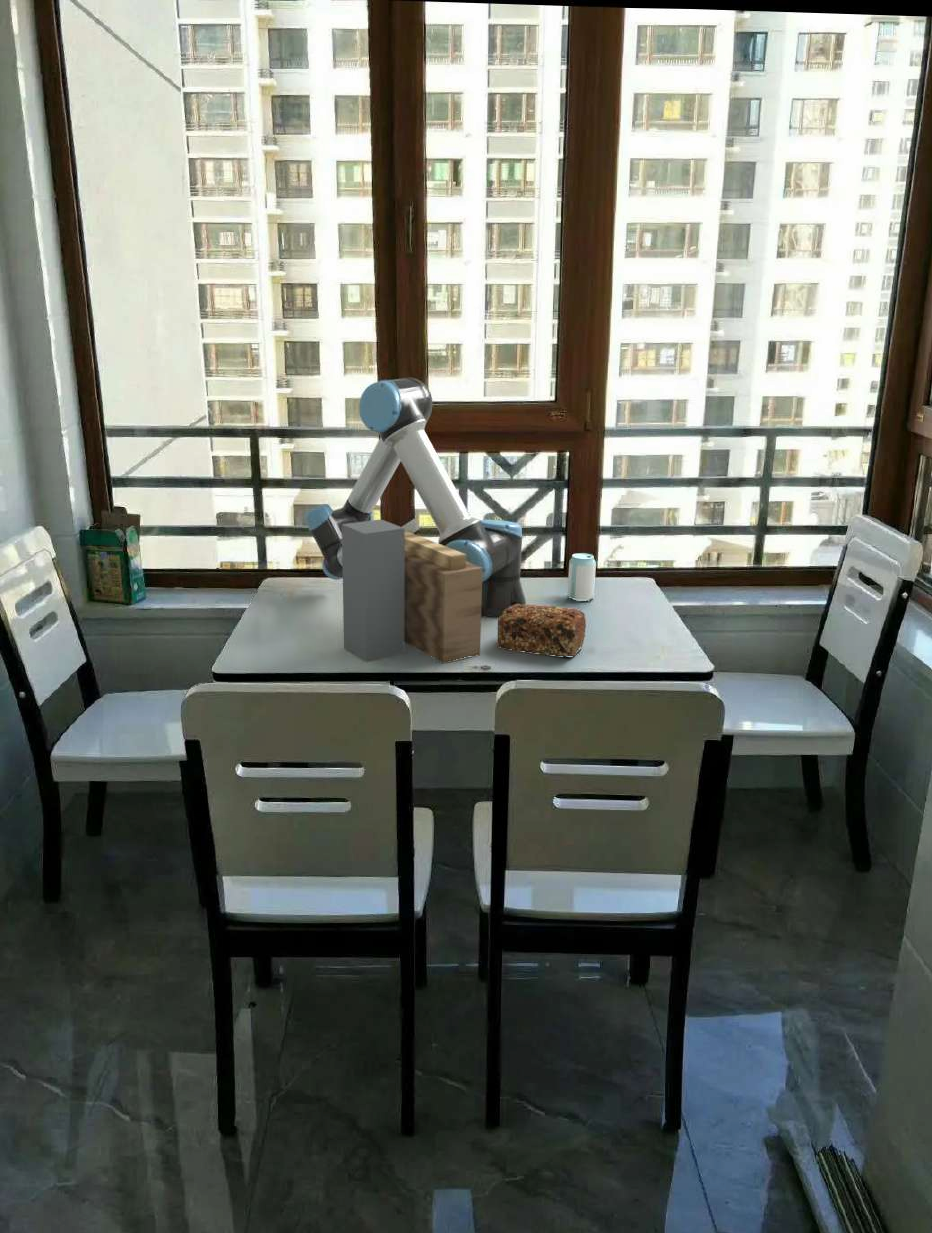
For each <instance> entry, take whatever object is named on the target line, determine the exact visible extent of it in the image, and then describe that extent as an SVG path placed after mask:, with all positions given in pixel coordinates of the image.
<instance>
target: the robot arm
mask: <svg viewBox="0 0 932 1233" xmlns="http://www.w3.org/2000/svg"><path fill="white" fill-rule="evenodd" d="M358 410H359V411H358V412H359V416H360V420H361V421H362V423H363V424H364V426H365V427H366V428H368V429H369V430H371V431H373V432H374V433H377V434H378V435H379V436H380V437H379V440H378V441H377V444H376V445H375V448H374V449H373V451H372V453H371V454H370V456H369V458H368V460H367V462H366V464H365V466H364V467H363V470H362V471H361V473H360V475H359V477H358V479H357V481H356V482H355V485H354V486H353V488H352V490H351V492H350V493H349V496H348V498H347V499H346V502H345V503H344V505H343V506H342V507H341V508H340V507H339V508H338V509H335V510H334V509H333V508H332V507H331V506H330V505H329V504H327V503H324V504H321V505H318V506H316V507H314V508H312V509H310V510H309V511H308V512H306V513H305V515H304V520H305V522H306V524H307V526H308V530H309V531H310V533H311V535H312V537H313V538H314V540H315V541H314V542H316V544H317V546H318V548H319V550H320V552H321V555H322V557H323V560H322V571H323V573H324V574H325V576H327V577H328V578H329V579H332V580H337V581H338V580H343V563H342V524H349V523H357V522H365V521H373V520H374V512H373V511H374V509H375V507H376V506H377V504H378V502H379V501H380V498H381V497H382V495H383V493H384V491H385V490H386V488H387V486H388V485H389V482H390V481H391V479H392V477H393V475H394V474H395V472H396V470H397V468H398V466H399V465H400V463H401V464H402V465H403V467H404V470H405V471H406V473H407V476H408V477H409V479H410V481H411V483H412V484H413V486H414V488H415V490H416V492H417V493H418V495H419V497H420V499H421V501H422V502H423V504H424V506H425V508H426V510H427V512H428V513H429V515H430V517H431V519H432V521H433V523H434V525H435V527H436V528H437V530H438V533H439V537H438V541H437V543H438V544H441V545H443V546H446V547H448V548H451V549H454V550H456V551H459V552H461V553H464V554H466V562H469V563H471V564H474V565H476V566H479V567H481V568H483V570H482V603H481V616H487V617H496V618H497V617H498V618H500V616H501V615H502V613H503V611H504V610H505V609H508V608H509V607H510V606H513V605H514V604H525V605H527V600H526V596H525V592H524V590H523V586H522V582H521V566H522V547H523V546H522V545H523V544H522V543H523V538H524V537H523V532H522V531H523V529H522V526H521V524H519V523H517V522H514V521H508V520H501V519H500V520H499V519H479V518H475V517H473V516H471V514H470V512H469V510H468V509H467V507H466V505H465V503H464V501H463V500H462V496H461V495H460V494H459V492H458V489H457V488H456V486H455V485H454V483H453V481H452V479H451V477H450V476H449V473H448V472H447V469H446V468H445V466H444V464H443V462H442V461H441V458H440V456H439V455H438V453H437V451H436V449H435V448H434V446H433V443H432V442H431V440H430V439H429V436H428V434H427V433H426V430H425V427H426V425H427V423H428V421H429V418H430V417H431V415H432V411H433V398H432V393H431V391H430V389H429V388H428V386H427V385H426V384H425V383H424V382H423V381H421V380H419V379H417V378H414V377H402V378H395V379H394V378H393V379H382V380H379V381H377V382H373V383H371V384H369V385H368V386H367V387H366V388H365V389H364V391H363V392H362V393H361V396H360V401H359V403H358ZM401 527H402V528H405V531H407V532H410V533H412V534H415V533H416V532H417V531H419V530H420V526H419V522H418V519H417V518H413V519H412V520H410V521H409V522H407V523H404V524H403V525H402V526H401Z"/></svg>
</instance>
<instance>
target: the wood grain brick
mask: <svg viewBox="0 0 932 1233" xmlns="http://www.w3.org/2000/svg"><path fill="white" fill-rule="evenodd" d="M482 570H483V568H481V567H479V566H476V565H474V564H471V563H469V562H466V568H461V569H455V570H450V569H447V568H445V567H442V566H440V565H438V564H435V563H433V562H430V561H428V560H426V559H423V558H421V557H418V556H416V555H413V554H411V553H409V552H406V551H405V560H404V644H407V645H409V646H411V647H412V648H414V647H415V649H416V650H418V651H419V652H421V653H424V654H425V655H427V656H429V657H431V656H432V657H431V658H433V657H434V658H435V659H434V658H433V659H434V660H436V659H437V661H438V660H439V661H438V662H440V661H441V662H440V663H442V662H443V663H442V664H446V663H445V662H448V663H450V662H449V661H452V662H454V661H453V660H456V659H460V658H464V657H468V656H474V657H477V656H476V655H478V656H481V633H482V632H481V629H482V615H481V603H482ZM456 661H457V660H456Z"/></svg>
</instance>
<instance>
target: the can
mask: <svg viewBox="0 0 932 1233" xmlns="http://www.w3.org/2000/svg"><path fill="white" fill-rule="evenodd" d="M594 557H595V556H594V555H593V554H590V553H587V552H586V553H585V552H581V553H573V554H572V555H571V558H570V559H569V561H568V563H569V564H568V579H567V580H568V581H567V595H568V596H569V597H571V598H575V599H588V598H591V597H593V596H595V584H596V583H595V581H596V580H595V579H596V566H597V562H596V560H595V558H594ZM568 596H567V597H568ZM569 597H568V598H569Z"/></svg>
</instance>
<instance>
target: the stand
mask: <svg viewBox="0 0 932 1233" xmlns="http://www.w3.org/2000/svg"><path fill="white" fill-rule="evenodd" d="M405 552H406V551H405V528H402V526H399V525H397V524H394V523H391V522H389V521H387V520H384V519H375V520H374V519H373V521H365V522H357V523H349V524H342V563H343V579H342V607H343V608H342V609H343V611H342V613H343V616H342V617H343V619H342V622H343V649H345V650H346V651H348V652H350V653H351V654H353V655H354V656H356V657H357V658H359V659H361V660H362V661H364V662H369V661H373V660H379V659H385V658H388V657H393V656H398V655H404V654H405V642H404V560H405Z"/></svg>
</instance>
